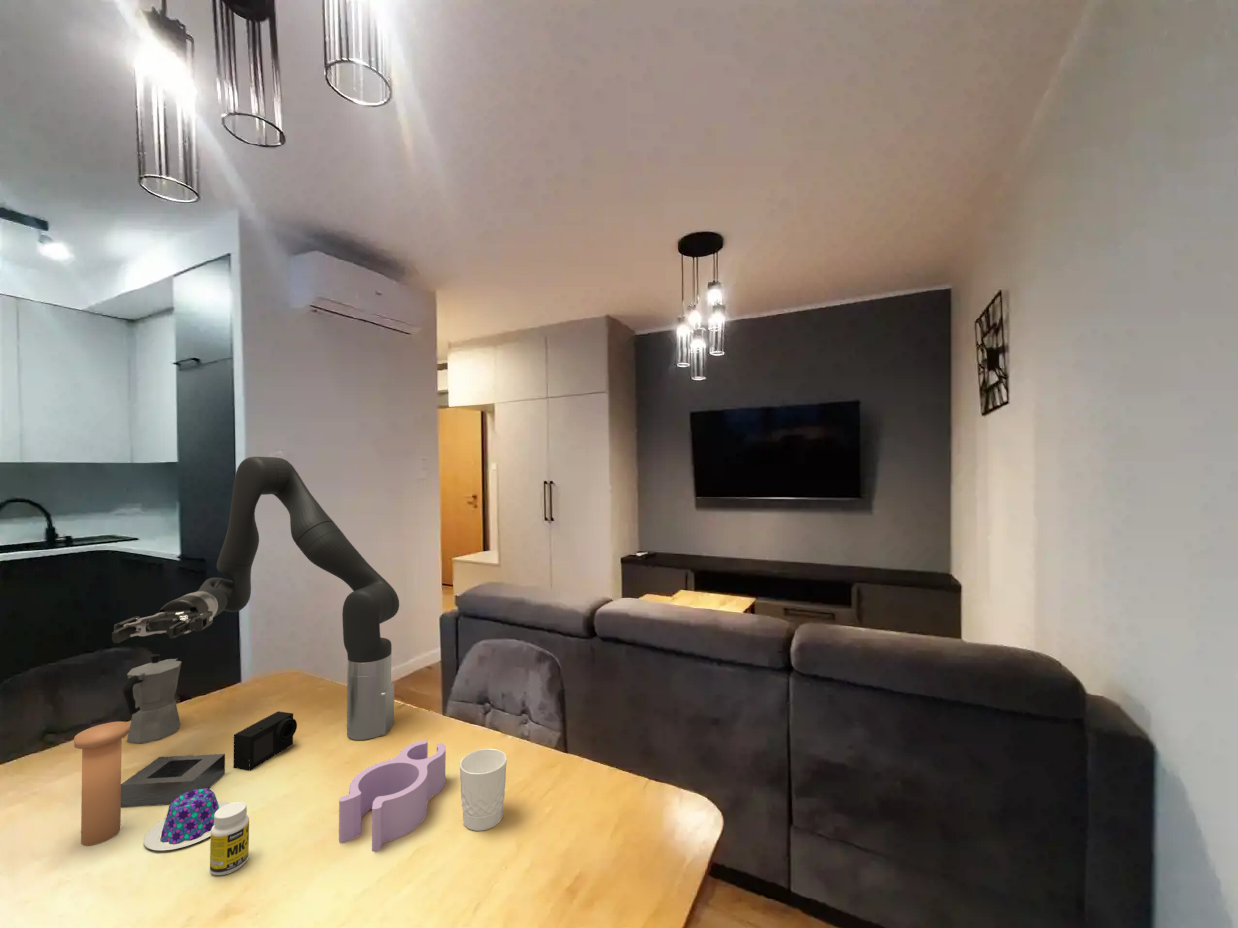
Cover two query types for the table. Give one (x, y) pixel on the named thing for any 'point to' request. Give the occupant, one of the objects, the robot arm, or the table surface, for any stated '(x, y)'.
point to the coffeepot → (152, 700)
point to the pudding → (185, 820)
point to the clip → (393, 794)
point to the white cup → (483, 788)
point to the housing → (171, 779)
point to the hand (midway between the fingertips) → (143, 635)
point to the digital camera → (263, 740)
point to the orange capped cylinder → (101, 781)
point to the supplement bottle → (229, 838)
